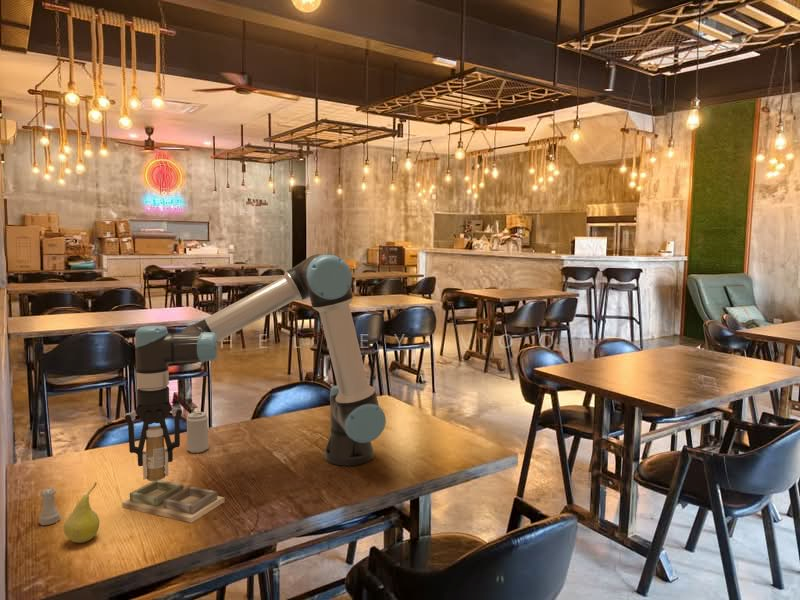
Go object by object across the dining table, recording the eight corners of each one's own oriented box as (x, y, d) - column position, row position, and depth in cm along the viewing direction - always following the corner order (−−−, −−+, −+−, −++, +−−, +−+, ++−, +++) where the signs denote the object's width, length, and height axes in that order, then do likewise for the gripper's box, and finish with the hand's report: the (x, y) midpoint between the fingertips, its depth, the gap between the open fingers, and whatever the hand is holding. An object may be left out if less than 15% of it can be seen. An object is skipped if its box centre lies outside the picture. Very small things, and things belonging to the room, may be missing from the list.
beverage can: (211, 447, 185) (210, 411, 184) (203, 454, 178) (202, 417, 177) (193, 446, 185) (192, 411, 184) (183, 453, 179) (182, 416, 178)
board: (224, 501, 145) (224, 489, 145) (191, 522, 134) (191, 509, 134) (158, 488, 153) (158, 476, 153) (122, 507, 142) (121, 494, 142)
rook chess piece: (45, 517, 137) (43, 485, 136) (64, 516, 137) (62, 485, 136) (34, 526, 132) (32, 493, 131) (54, 525, 133) (52, 493, 132)
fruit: (58, 544, 124) (55, 492, 123) (87, 529, 131) (85, 479, 130) (80, 550, 122) (77, 497, 121) (109, 534, 129) (107, 483, 128)
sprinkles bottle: (144, 477, 145) (142, 427, 144) (162, 473, 148) (160, 423, 147) (150, 483, 142) (148, 431, 141) (168, 478, 145) (166, 427, 144)
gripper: (188, 380, 150) (191, 465, 152) (115, 386, 143) (119, 475, 145) (190, 387, 143) (193, 475, 145) (113, 393, 136) (117, 487, 138)
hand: (156, 475), depth 145 cm, fingers closed on sprinkles bottle, 4 cm apart
